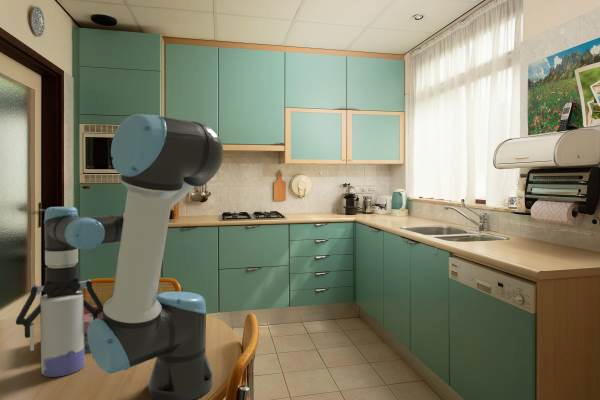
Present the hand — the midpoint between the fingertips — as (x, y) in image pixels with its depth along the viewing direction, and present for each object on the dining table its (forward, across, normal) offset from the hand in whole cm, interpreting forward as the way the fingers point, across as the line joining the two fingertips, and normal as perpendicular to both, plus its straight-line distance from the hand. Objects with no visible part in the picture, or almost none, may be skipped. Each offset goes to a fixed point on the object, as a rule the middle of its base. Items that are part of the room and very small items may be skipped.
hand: (62, 343), depth 107 cm
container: (+7, 0, 0) cm, 7 cm away
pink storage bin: (+4, -4, -16) cm, 17 cm away
